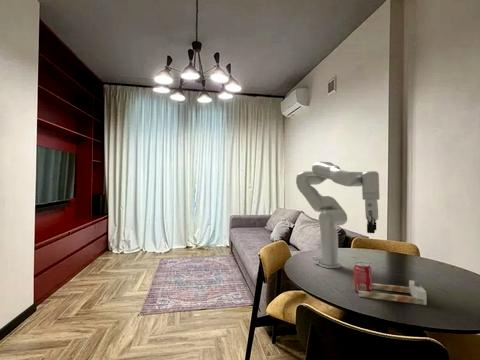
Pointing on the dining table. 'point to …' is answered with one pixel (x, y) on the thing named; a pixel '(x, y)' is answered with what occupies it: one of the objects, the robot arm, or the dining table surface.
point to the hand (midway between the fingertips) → (371, 231)
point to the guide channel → (390, 296)
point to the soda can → (362, 277)
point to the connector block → (417, 291)
